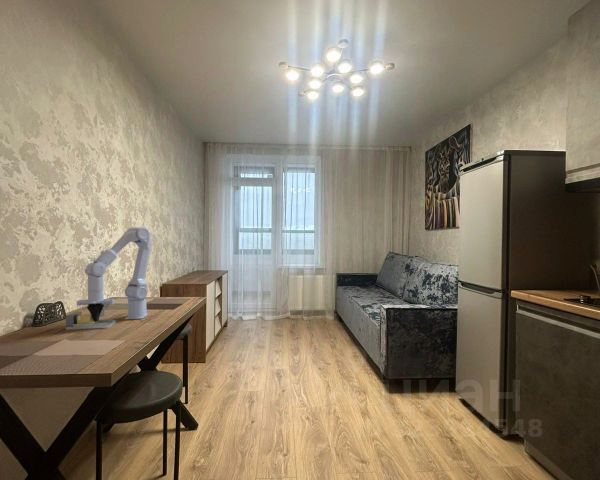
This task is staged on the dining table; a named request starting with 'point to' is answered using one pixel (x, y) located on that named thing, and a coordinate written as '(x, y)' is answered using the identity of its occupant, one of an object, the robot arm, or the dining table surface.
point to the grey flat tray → (93, 325)
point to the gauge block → (84, 319)
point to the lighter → (104, 310)
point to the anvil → (72, 319)
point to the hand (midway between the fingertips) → (95, 321)
